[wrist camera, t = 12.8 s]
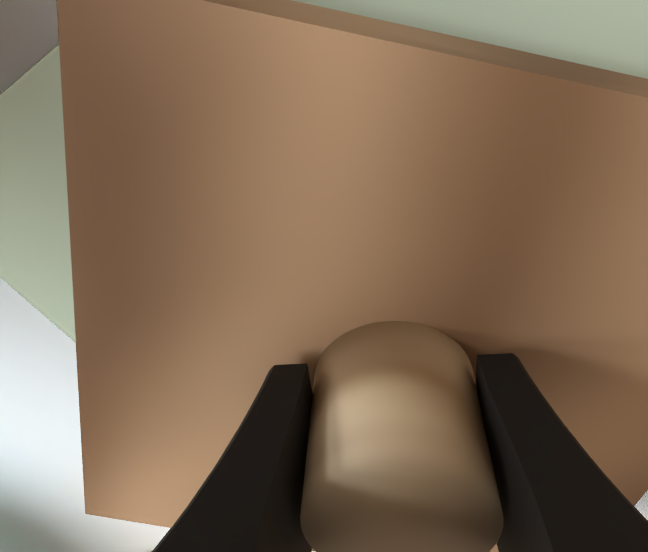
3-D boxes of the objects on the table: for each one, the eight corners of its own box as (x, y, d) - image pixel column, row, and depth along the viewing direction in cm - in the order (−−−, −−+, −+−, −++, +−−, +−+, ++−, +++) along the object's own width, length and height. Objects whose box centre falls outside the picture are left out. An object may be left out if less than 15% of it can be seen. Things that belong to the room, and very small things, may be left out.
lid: (103, 472, 15) (28, 648, 12) (89, -45, 9) (-90, 20, 5) (551, 547, 16) (602, 733, 13) (862, 126, 9) (1148, 281, 6)
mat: (306, 534, 21) (306, 542, 21) (-97, 180, 14) (-106, 185, 14) (826, 353, 15) (833, 361, 15) (593, -415, 8) (600, -423, 8)
